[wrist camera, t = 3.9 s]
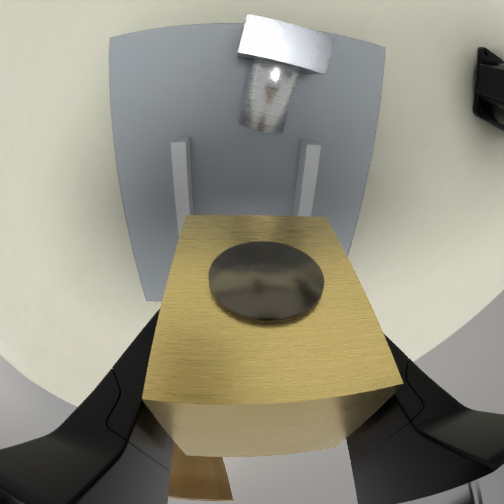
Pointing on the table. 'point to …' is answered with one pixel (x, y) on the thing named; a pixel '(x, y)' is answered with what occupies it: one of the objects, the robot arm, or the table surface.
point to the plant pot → (198, 477)
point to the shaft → (277, 68)
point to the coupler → (264, 340)
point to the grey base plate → (233, 138)
